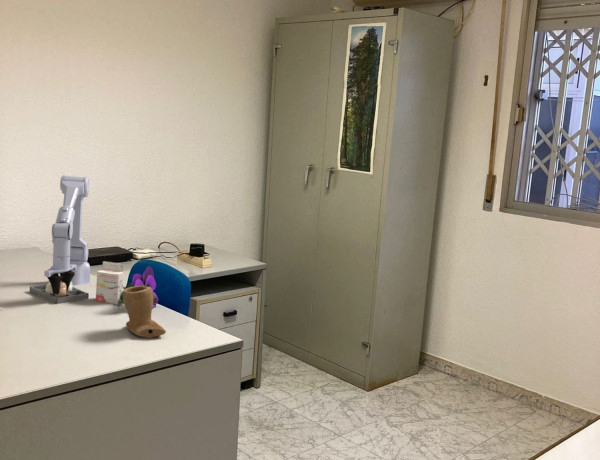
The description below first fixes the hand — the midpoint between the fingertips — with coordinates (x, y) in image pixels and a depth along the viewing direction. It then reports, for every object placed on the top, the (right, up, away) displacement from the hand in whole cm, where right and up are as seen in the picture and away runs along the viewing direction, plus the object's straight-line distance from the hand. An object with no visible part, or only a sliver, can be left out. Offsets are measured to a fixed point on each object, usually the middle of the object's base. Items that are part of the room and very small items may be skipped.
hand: (60, 292), depth 236 cm
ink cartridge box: (+16, -4, +5) cm, 17 cm away
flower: (+27, -6, +3) cm, 27 cm away
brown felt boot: (+35, -11, -24) cm, 44 cm away
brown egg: (0, -1, 0) cm, 1 cm away
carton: (-3, -2, +7) cm, 8 cm away
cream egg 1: (-5, -2, +4) cm, 7 cm away
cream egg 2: (-1, -1, +9) cm, 9 cm away
